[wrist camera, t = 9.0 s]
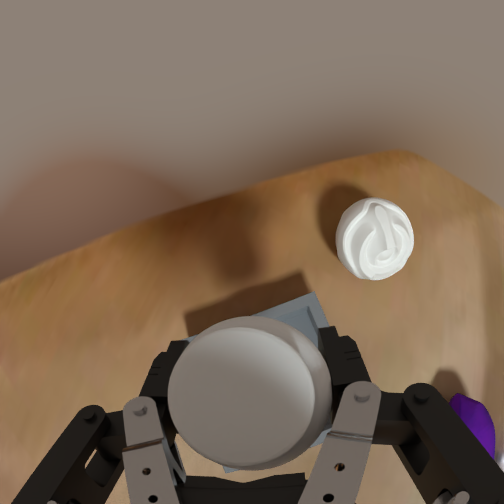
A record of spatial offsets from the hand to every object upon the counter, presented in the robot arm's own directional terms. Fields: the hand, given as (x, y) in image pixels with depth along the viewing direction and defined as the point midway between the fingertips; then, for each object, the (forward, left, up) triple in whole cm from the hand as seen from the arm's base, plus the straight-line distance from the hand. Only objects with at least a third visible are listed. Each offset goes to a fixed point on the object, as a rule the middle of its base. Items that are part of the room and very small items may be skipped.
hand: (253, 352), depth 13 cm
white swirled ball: (+14, +7, -17) cm, 23 cm away
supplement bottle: (0, -2, -5) cm, 5 cm away
